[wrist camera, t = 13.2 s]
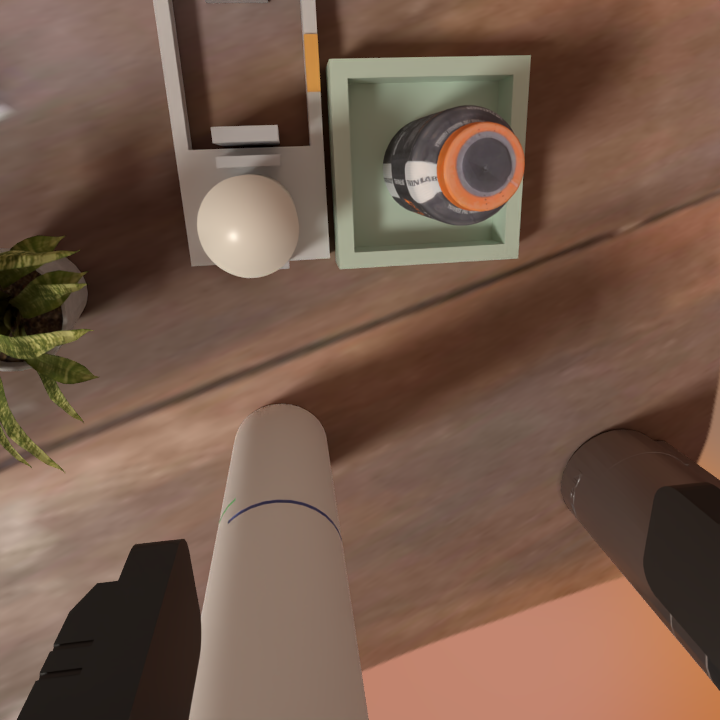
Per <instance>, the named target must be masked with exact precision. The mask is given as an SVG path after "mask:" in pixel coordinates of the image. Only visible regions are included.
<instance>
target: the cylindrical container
mask: <svg viewBox="0 0 720 720" xmlns="http://www.w3.org/2000/svg"><path fill="white" fill-rule="evenodd" d="M189 720H369V719H368V713H367V706H366V699H365V692H364V686H363V679H362V672H361V666H360V659H359V652H358V645H357V639H356V632H355V625H354V619H353V612H352V605H351V598H350V592H349V585H348V578H347V572H346V565H345V558H344V551H343V545H342V538H341V531H340V525H339V518H338V511H337V504H336V498H335V491H334V484H333V478H332V471H331V464H330V457H329V451H328V444H327V437H326V433H325V431H324V428H323V426H322V425H321V423H320V421H319V420H318V419H317V418H316V417H315V416H314V415H313V414H311V413H310V412H309V411H307V410H305V409H303V408H301V407H298V406H294V405H290V404H274V405H269V406H265V407H262V408H260V409H258V410H256V411H254V412H253V413H252V414H250V415H249V416H248V417H247V418H246V419H245V420H244V421H243V422H242V423H241V425H240V427H239V429H238V431H237V434H236V437H235V441H234V446H233V452H232V457H231V462H230V468H229V473H228V478H227V484H226V489H225V494H224V500H223V505H222V510H221V516H220V521H219V526H218V532H217V537H216V542H215V547H214V552H213V557H212V563H211V568H210V573H209V578H208V583H207V589H206V594H205V599H204V604H203V610H202V615H201V651H200V659H199V664H198V670H197V676H196V681H195V687H194V693H193V698H192V704H191V709H190V715H189Z"/></svg>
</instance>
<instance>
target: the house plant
mask: <svg viewBox="0 0 720 720" xmlns="http://www.w3.org/2000/svg"><path fill="white" fill-rule="evenodd" d="M64 237H65V236H61V237H52V236H34V237H30V238H27V239H25V240H23V241H21V242H19V243H17V244H16V245H15V246H14V247H12V248H11V249H2V248H0V371H22V370H26V369H30V368H34V369H35V370H36V371H37V372H38V374H39V376H40V378H41V380H42V382H43V384H44V387H45V389H46V391H47V393H48V395H49V397H50V399H51V400H52V401H53V402H54V403H56V404H57V405H58V406H59V407H61V408H62V409H63V410H64V411H65V412H67V413H68V414H69V415H70V416H72V417H73V418H76V419H78V420H80V421H82V422H83V420H82V419H81V417H80V416H79V415H78V414H77V413H76V412H75V410H74V409H73V408H72V407H71V405H70V404H69V403H68V402H67V400H66V399H65V397H64V396H63V394H62V392H61V391H60V389H59V387H58V385H57V383H56V381H57V382H60V383H63V384H75V383H80V382H84V381H88V380H91V379H95V378H98V377H97V376H94V375H93V374H92V373H91V372H90V371H89V370H88V369H87V368H86V367H85V366H83V365H81V364H79V363H77V362H75V361H72V360H69V359H67V358H63V357H59V356H55V355H54V354H55V353H56V352H57V351H58V350H59V349H60V347H61V346H62V345H63V344H66V343H69V342H72V341H75V340H77V339H78V338H80V337H81V336H82V335H84V334H85V333H87V332H88V331H94V330H90V329H78V330H72V328H73V326H74V325H75V323H76V321H77V320H78V318H79V317H80V315H81V313H82V312H83V310H84V308H85V306H86V303H87V297H88V291H87V284H86V282H85V279H84V277H83V276H84V275H85V274H86V273H87V272H89V271H87V272H82V273H81V272H80V271H79V269H78V268H77V267H76V265H75V264H73V263H72V262H71V261H70V260H69V259H67V258H66V257H67V256H70V255H72V254H74V253H76V252H78V251H79V250H78V251H63V250H61V251H54V249H55V247H56V246H57V244H58V243H59V241H60V240H61V239H62V238H64ZM80 250H81V249H80ZM0 422H1V424H2V425H3V427H4V429H5V431H6V433H7V435H8V436H9V437H10V438H11V439H12V440H13V441H15V442H16V443H17V444H18V445H19V446H21V447H22V448H24V449H25V450H27V451H28V452H30V453H31V454H32V455H34V456H35V457H36V458H38V459H39V460H41V461H42V462H44V463H45V464H47V465H50V466H52V467H55V468H58V469H60V470H62V471H63V469H62V468H61V467H60V466H59V465H57V464H56V463H55V462H54V461H53V460H52V459H51V458H49V457H48V456H47V455H46V454H45V453H44V452H43V451H42V450H41V449H40V448H39V447H38V446H37V445H36V444H34V443H33V441H32V440H31V439H30V438H29V437H28V436H27V435H26V433H25V432H24V431H23V430H22V428H21V427H20V426H19V424H18V423H17V422H16V420H15V418H14V416H13V415H12V413H11V411H10V409H9V407H8V404H7V400H6V397H5V393H4V389H3V384H2V381H1V378H0ZM83 423H84V422H83ZM0 443H1V445H2V446H3V447H4V448H5V449H6V450H7V451H8V452H9V453H11V454H12V455H13V456H14V457H15V458H16V459H17V460H19V461H20V462H22V463H24V464H26V465H28V466H30V465H29V464H28V463H27V462H26V461H25V460H24V459H23V458H22V457H21V456H20V455H19V454H18V453H17V452H16V450H15V449H14V448H13V447H12V445H11V444H10V443H9V441H8V439H7V438H6V436H5V434H4V432H3V430H2V427H1V425H0ZM30 467H31V466H30ZM31 468H32V467H31ZM63 472H64V471H63ZM64 473H65V472H64Z"/></svg>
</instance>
